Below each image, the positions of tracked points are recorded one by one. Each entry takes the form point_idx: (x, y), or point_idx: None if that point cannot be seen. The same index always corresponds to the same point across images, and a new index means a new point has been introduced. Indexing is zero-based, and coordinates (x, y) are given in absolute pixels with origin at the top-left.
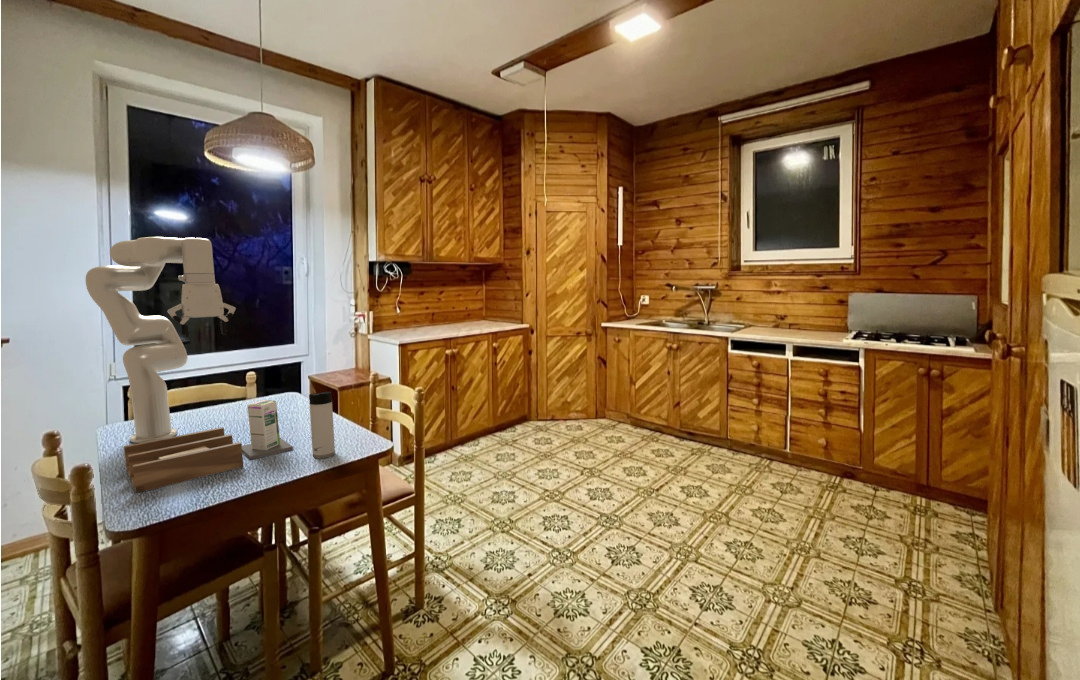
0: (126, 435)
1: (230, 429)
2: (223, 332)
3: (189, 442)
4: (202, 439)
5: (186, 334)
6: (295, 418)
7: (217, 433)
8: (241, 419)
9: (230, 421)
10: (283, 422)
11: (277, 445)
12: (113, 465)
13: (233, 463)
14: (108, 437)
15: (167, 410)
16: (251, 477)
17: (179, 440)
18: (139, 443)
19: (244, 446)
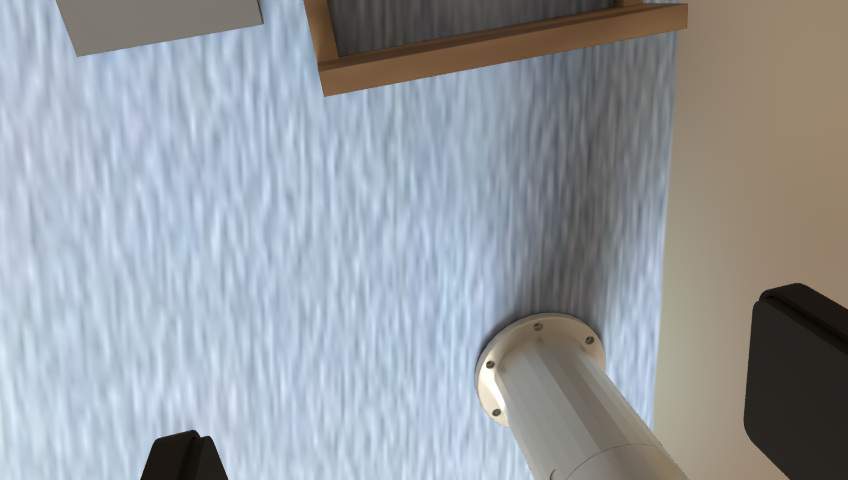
0: None
1: (301, 341)
2: (193, 460)
3: (456, 42)
4: (407, 51)
5: (826, 302)
6: (30, 376)
7: (346, 64)
8: (262, 455)
9: (302, 446)
10: (84, 339)
11: None
12: (659, 109)
13: None
14: None
15: (528, 421)
16: None
17: (496, 37)
18: (638, 31)
19: (238, 8)
